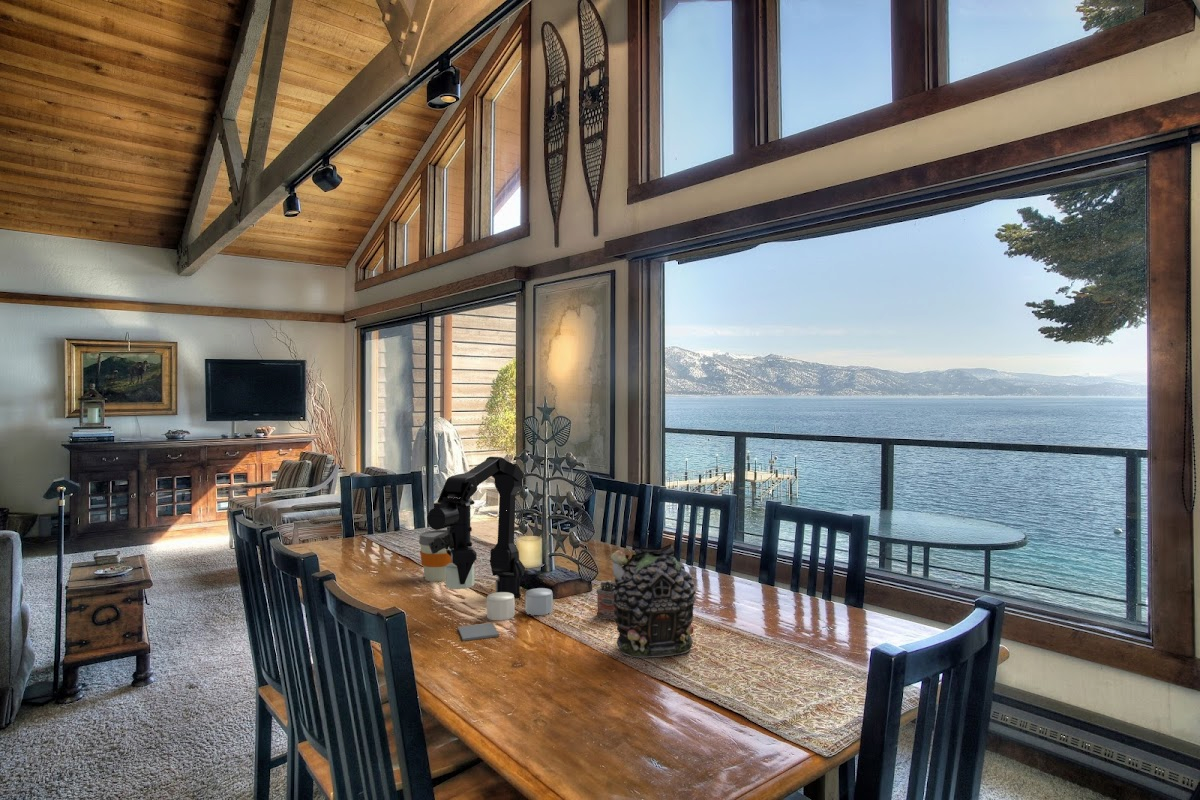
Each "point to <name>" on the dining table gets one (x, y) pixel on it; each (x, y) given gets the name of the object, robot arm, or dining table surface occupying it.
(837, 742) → the dining table surface
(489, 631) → the slate coaster
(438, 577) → the reusable coffee cup
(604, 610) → the lighter
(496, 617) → the cream cup
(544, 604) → the light grey cylinder
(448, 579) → the sage cup
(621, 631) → the decorative house
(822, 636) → the dining table surface
